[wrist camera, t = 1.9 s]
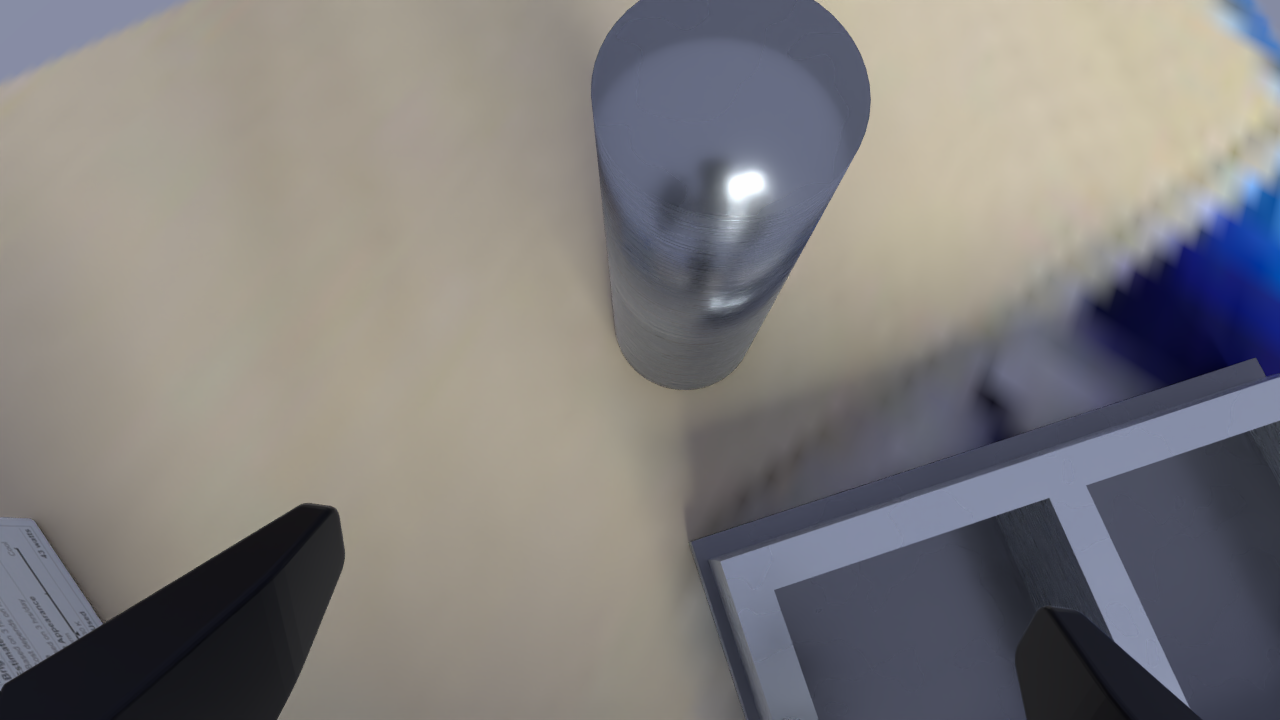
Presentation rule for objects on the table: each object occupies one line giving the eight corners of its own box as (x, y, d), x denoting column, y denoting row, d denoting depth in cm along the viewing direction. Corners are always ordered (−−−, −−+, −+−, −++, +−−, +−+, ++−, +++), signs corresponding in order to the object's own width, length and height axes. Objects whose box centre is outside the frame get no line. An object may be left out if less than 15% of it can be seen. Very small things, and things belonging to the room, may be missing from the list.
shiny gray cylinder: (638, 407, 22) (639, 251, 11) (598, 280, 23) (558, 12, 12) (772, 366, 23) (914, 171, 11) (725, 242, 24) (811, -54, 12)
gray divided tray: (823, 961, 18) (872, 1071, 15) (688, 541, 21) (700, 540, 17) (1426, 731, 20) (1616, 775, 16) (1229, 366, 23) (1351, 328, 19)
